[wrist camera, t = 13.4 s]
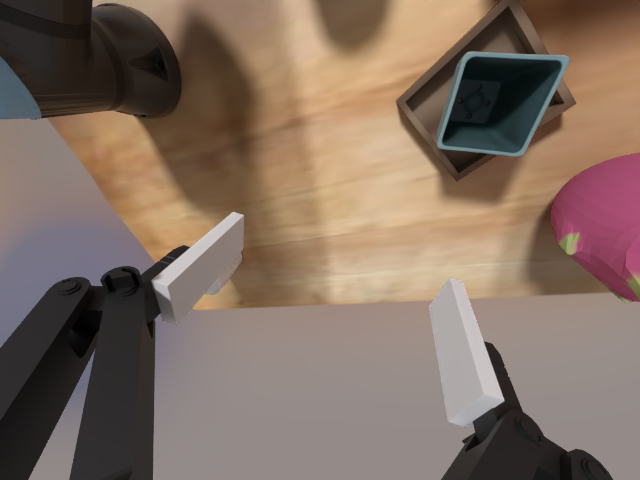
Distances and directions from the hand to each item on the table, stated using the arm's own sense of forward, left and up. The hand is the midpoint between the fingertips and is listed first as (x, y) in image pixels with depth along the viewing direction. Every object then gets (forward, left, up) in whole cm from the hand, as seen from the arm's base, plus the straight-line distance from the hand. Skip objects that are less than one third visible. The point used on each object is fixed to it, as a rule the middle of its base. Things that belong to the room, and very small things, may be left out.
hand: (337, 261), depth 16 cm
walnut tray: (+3, +14, -29) cm, 32 cm away
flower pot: (+3, +14, -28) cm, 31 cm away
